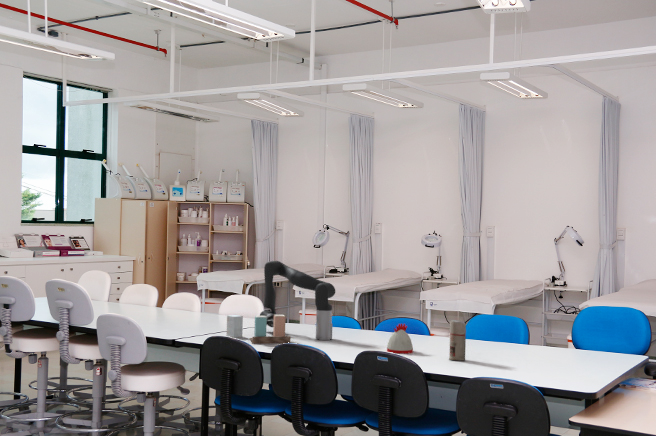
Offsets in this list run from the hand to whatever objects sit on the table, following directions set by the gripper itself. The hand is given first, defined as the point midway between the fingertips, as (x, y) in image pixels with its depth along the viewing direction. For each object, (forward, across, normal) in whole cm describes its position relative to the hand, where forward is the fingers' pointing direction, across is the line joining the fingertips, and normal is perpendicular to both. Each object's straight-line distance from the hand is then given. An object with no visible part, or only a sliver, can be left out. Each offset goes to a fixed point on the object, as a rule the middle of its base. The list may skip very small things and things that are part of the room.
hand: (276, 324), depth 384 cm
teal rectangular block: (+15, -11, +8) cm, 21 cm away
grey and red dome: (+46, +60, +8) cm, 77 cm away
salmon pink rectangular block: (+10, 0, +8) cm, 13 cm away
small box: (-8, -24, +9) cm, 26 cm away
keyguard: (+13, -6, +9) cm, 17 cm away
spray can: (+73, +82, +7) cm, 110 cm away
